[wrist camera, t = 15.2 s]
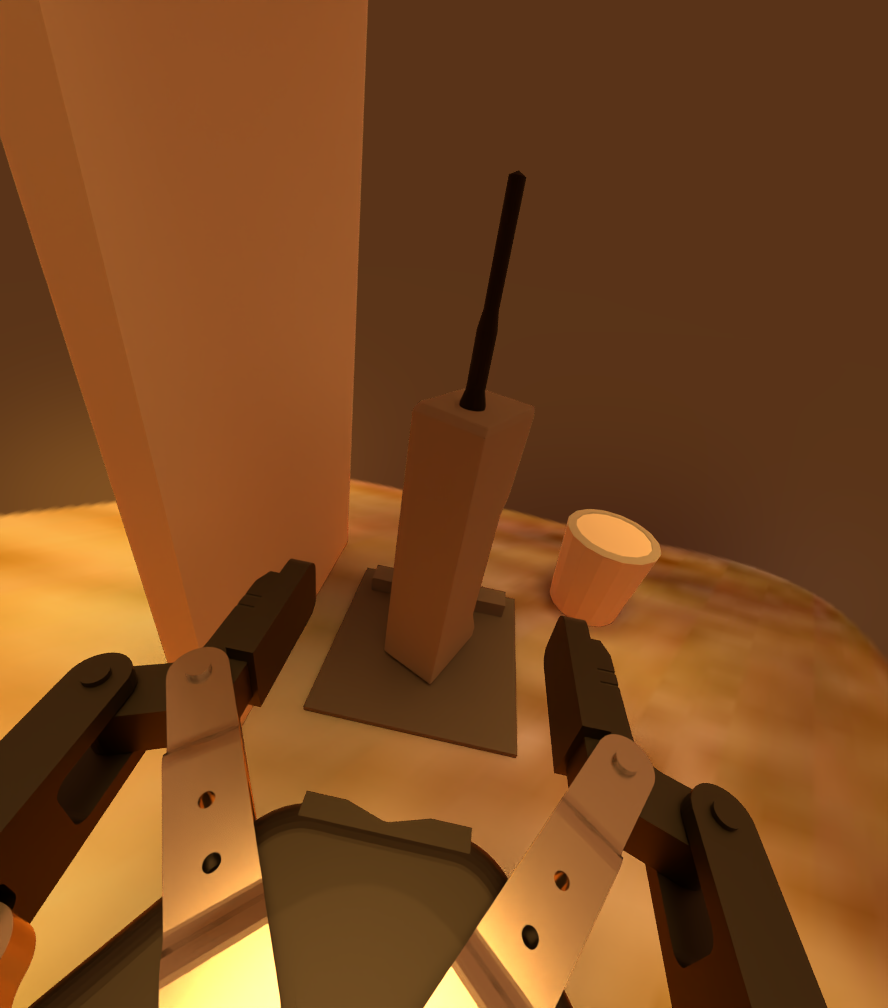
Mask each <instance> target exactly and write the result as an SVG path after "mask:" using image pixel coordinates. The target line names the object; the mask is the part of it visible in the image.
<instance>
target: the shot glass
mask: <svg viewBox="0 0 888 1008" xmlns="http://www.w3.org/2000/svg"><path fill="white" fill-rule="evenodd" d="M660 555H661V550H660V545H659V543H658V542H657V541H656V539H655V538H654V537H653V536H652V535H651V533H649V532H648V531H647V530H645V529H644V528H643V527H641V526H640V525H639V524H637V523H635V522H633V521H631V520H629V519H627V518H625V517H623V516H620V515H617V514H614V513H610V512H607V511H603V510H593V509H586V510H580V511H576V512H574V513H573V514H572V515H570V516H569V519H568V523H567V526H566V530H565V534H564V538H563V541H562V545H561V549H560V553H559V556H558V560H557V564H556V568H555V571H554V575H553V579H552V583H551V587H550V592H549V593H550V596H551V599H552V601H553V603H554V604H555V605H556V607H557V608H558V609H559V610H560V611H561V612H562V613H563V614H565V615H566V616H568V617H572V618H576V619H581V620H585V621H586V623H587V625H588V626H597V627H602V626H605V625H608V624H611V623H612V622H613V621H614V619H615V618H616V617H617V615H618V614H619V613H620V611H621V610H622V608H623V607H624V606H625V604H626V603H627V601H628V600H629V599H630V597H631V596H632V594H633V593H634V592H635V590H636V589H637V588H638V586H639V585H640V583H641V582H642V581H643V579H644V578H645V576H646V575H647V574H648V572H649V571H650V569H651V568H652V567H653V565H654V564H655V562H656V561H657V560H658V558H659V557H660Z"/></svg>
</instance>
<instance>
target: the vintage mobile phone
mask: <svg viewBox="0 0 888 1008" xmlns="http://www.w3.org/2000/svg"><path fill="white" fill-rule="evenodd" d="M525 181H526V177H525V176H524V175H523V174H522V173H521V172H520V171H516V172H514V173H511V174H509V177H508V182H507V188H506V193H505V199H504V204H503V209H502V214H501V220H500V226H499V231H498V236H497V241H496V246H495V252H494V257H493V262H492V268H491V273H490V278H489V283H488V289H487V294H486V299H485V305H484V310H483V312H482V315H481V318H480V321H479V325H478V327H477V332H476V337H475V343H474V348H473V354H472V360H471V364H470V370H469V375H468V381H467V386H466V388H465V389H462V390H458V391H454V392H451V393H448V394H444V395H440V396H437V397H433V398H430V399H426V400H423V401H419V402H418V403H417V405H416V406H415V407H414V408H413V410H412V418H411V426H410V435H409V443H408V452H407V461H406V470H405V477H404V487H403V494H402V503H401V511H400V520H399V528H398V537H397V545H396V554H395V562H394V571H393V579H392V588H391V596H390V605H389V613H388V622H387V630H386V639H385V647H384V650H385V651H386V652H387V653H388V654H390V655H391V656H392V657H394V658H395V659H396V660H398V661H399V662H400V663H402V664H403V665H404V666H406V667H407V668H409V669H410V670H411V671H413V672H414V673H415V674H417V675H418V676H419V677H421V678H422V679H423V680H425V681H426V682H427V683H429V684H431V683H432V682H433V681H434V680H435V678H436V677H437V676H438V675H439V674H440V673H441V671H442V670H443V669H444V668H445V667H446V666H447V664H448V663H449V662H450V661H451V660H452V659H453V657H454V656H455V655H456V654H457V653H458V651H459V650H460V649H461V648H462V647H463V646H464V644H465V643H466V642H467V641H468V640H469V639H470V637H471V636H472V634H473V630H474V627H475V626H474V619H473V612H474V609H475V605H476V601H477V598H478V594H479V590H480V587H481V583H482V579H483V576H484V572H485V568H486V565H487V561H488V557H489V554H490V550H491V547H492V543H493V539H494V536H495V532H496V528H497V525H498V521H499V517H500V515H501V512H502V510H503V508H504V505H505V503H506V501H507V499H508V496H509V494H510V491H511V488H512V484H513V481H514V478H515V475H516V472H517V469H518V465H519V462H520V459H521V456H522V452H523V450H524V446H525V443H526V440H527V437H528V434H529V430H530V427H531V424H532V421H533V418H534V414H535V407H534V406H531V405H528V404H525V403H522V402H520V401H517V400H514V399H511V398H508V397H505V396H502V395H499V394H496V393H493V392H490V391H487V390H485V388H486V384H487V379H488V374H489V369H490V365H491V360H492V355H493V350H494V345H495V341H496V336H497V330H498V314H499V307H500V302H501V298H502V293H503V287H504V282H505V278H506V273H507V268H508V264H509V259H510V254H511V249H512V244H513V239H514V234H515V229H516V225H517V219H518V215H519V210H520V205H521V200H522V196H523V191H524V186H525Z"/></svg>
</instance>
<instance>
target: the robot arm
mask: <svg viewBox="0 0 888 1008" xmlns="http://www.w3.org/2000/svg"><path fill="white" fill-rule="evenodd" d="M315 601H316V567H315V564H314V563H311V562H306V561H301V560H297V559H290V560H289V561H288V562H287V563H286V564H285V566H284V567H283V569H282V570H281V571H280V573H278V572H273V571H270V572H268V573H266V574H265V575H263V576H262V577H260V578H259V579H257V580H256V581H255V582H254V583H253V584H252V586H251V587H250V588H249V590H248V591H247V592H246V595H244V596H243V597H242V598H241V600H240V601H239V602H238V605H237V606H235V607H234V609H233V610H232V611H231V612H230V614H229V615H228V616H227V618H226V619H225V620H224V621H223V623H222V624H221V625H220V626H219V628H218V629H217V630H216V632H215V633H214V634H213V635H212V637H211V638H210V639H209V640H208V642H207V643H206V644H205V645H204V646H203V647H202V648H197V649H194V650H191V651H189V652H187V653H185V654H184V655H182V656H181V657H179V658H178V659H177V660H176V661H175V662H173V663H166V664H155V665H142V666H133V664H132V662H131V660H130V658H128V657H127V656H126V655H124V654H120V653H105V654H100V655H96V656H93V657H91V658H88V659H86V660H84V661H82V662H81V663H79V664H77V665H76V666H75V667H73V668H72V669H71V670H70V671H69V672H68V673H67V674H66V675H65V676H64V677H63V678H62V679H61V680H60V681H59V682H58V683H57V684H56V685H55V686H54V687H53V688H52V689H51V690H50V691H49V692H48V693H47V694H46V695H45V696H44V697H43V698H42V699H41V700H40V701H39V702H38V703H37V704H36V705H35V706H34V707H33V708H32V709H31V710H30V711H29V712H28V713H27V714H26V715H25V716H24V717H23V718H22V719H21V720H20V721H19V722H18V723H17V724H16V725H15V726H14V727H13V728H12V729H11V730H10V731H9V733H8V734H7V735H6V736H5V737H4V738H3V739H2V740H1V741H0V1008H12V1004H13V1001H14V997H15V995H16V992H17V990H18V987H19V985H20V983H21V981H22V979H23V977H24V976H25V974H26V972H27V970H28V968H29V966H30V963H31V961H32V958H33V955H34V951H35V945H36V936H35V932H34V929H33V927H32V926H31V925H30V923H31V921H32V920H33V918H34V917H35V915H36V914H37V912H38V911H39V909H40V908H41V906H42V905H43V903H44V902H45V900H46V899H47V897H48V896H49V894H50V893H51V891H52V890H53V888H54V887H55V885H56V884H57V883H58V881H59V880H60V878H61V877H62V875H63V874H64V872H65V871H66V869H67V868H68V866H69V865H70V863H71V862H72V860H73V859H74V857H75V856H76V854H77V853H78V851H79V850H80V848H81V847H82V845H83V844H84V842H85V841H86V839H87V838H88V836H89V835H90V833H91V832H92V830H93V829H94V827H95V826H96V824H97V823H98V821H99V820H100V818H101V817H102V815H103V814H104V812H105V811H106V809H107V808H108V806H109V805H110V803H111V802H112V801H113V799H114V798H115V796H116V795H117V793H118V792H119V790H120V789H121V787H122V786H123V784H124V783H125V781H126V780H127V778H128V777H129V775H130V774H131V772H132V771H133V769H134V768H135V766H136V765H137V763H138V762H139V760H140V759H141V757H142V756H143V754H144V753H145V751H146V750H152V749H160V748H167V753H166V754H164V755H163V759H162V879H163V896H162V897H161V898H160V899H159V900H158V901H156V902H155V903H154V904H153V905H151V906H150V907H149V908H148V909H147V910H145V911H144V912H143V913H142V914H141V915H139V916H138V917H137V918H136V919H135V920H133V921H132V922H131V923H130V924H128V925H127V926H126V927H125V928H124V929H122V930H121V931H120V932H119V933H118V934H116V935H115V936H114V937H113V938H111V939H110V940H109V941H108V942H107V943H105V944H104V945H103V946H102V947H101V948H99V949H98V950H97V951H96V952H94V953H93V954H92V955H91V956H90V957H88V958H87V959H86V960H85V961H84V962H82V963H81V964H80V965H79V966H77V967H76V968H75V969H74V970H73V971H71V972H70V973H69V974H68V975H67V976H65V977H64V978H63V979H62V980H61V981H59V982H58V983H57V984H56V985H54V986H53V987H52V988H51V989H50V990H48V991H47V992H46V993H45V994H44V995H42V996H41V997H40V998H39V999H38V1000H36V1001H35V1002H34V1003H33V1004H32V1005H31V1006H29V1007H28V1008H573V1007H572V1005H571V1003H570V1001H569V999H568V997H567V995H566V993H565V991H564V987H565V985H566V983H567V981H568V979H569V977H570V975H571V972H572V970H573V968H574V966H575V964H576V962H577V960H578V957H579V955H580V953H581V951H582V949H583V947H584V945H585V942H586V940H587V938H588V936H589V934H590V932H591V930H592V927H593V925H594V923H595V921H596V919H597V917H598V914H599V912H600V910H601V908H602V906H603V904H604V902H605V899H606V897H607V895H608V893H609V891H610V889H611V887H612V884H613V882H614V880H615V878H616V876H617V874H618V871H619V869H620V867H621V864H622V860H623V857H622V856H621V854H622V851H623V850H624V851H626V852H627V853H629V854H630V855H632V856H634V857H635V858H637V859H638V860H640V861H642V862H643V863H645V865H646V871H647V876H648V881H649V887H650V892H651V897H652V903H653V908H654V913H655V919H656V924H657V929H658V935H659V940H660V945H661V951H662V956H663V961H664V967H665V972H666V977H667V983H668V988H669V993H670V999H671V1004H672V1008H827V1005H826V1003H825V1000H824V998H823V995H822V993H821V990H820V988H819V985H818V983H817V980H816V978H815V975H814V973H813V970H812V968H811V965H810V963H809V960H808V958H807V955H806V953H805V950H804V947H803V945H802V942H801V940H800V937H799V935H798V932H797V930H796V927H795V925H794V922H793V920H792V917H791V915H790V912H789V910H788V907H787V905H786V902H785V900H784V897H783V895H782V892H781V890H780V887H779V885H778V882H777V880H776V877H775V875H774V872H773V870H772V867H771V864H770V862H769V859H768V857H767V854H766V852H765V849H764V847H763V844H762V842H761V839H760V837H759V834H758V832H757V829H756V827H755V824H754V822H753V820H752V818H751V817H750V815H749V813H748V812H747V811H746V809H745V808H744V807H743V805H742V804H741V803H740V802H739V801H738V800H737V799H736V798H735V797H734V796H733V795H731V794H730V793H729V792H727V791H726V790H724V789H723V788H721V787H719V786H716V785H714V784H709V783H702V784H699V785H697V786H696V787H695V788H694V789H693V790H692V789H691V788H689V787H687V786H685V785H683V784H681V783H680V782H678V781H676V780H674V779H672V778H670V777H669V776H667V775H665V774H663V773H662V772H660V771H658V770H657V769H656V768H654V767H653V766H652V763H651V761H650V759H649V758H648V756H647V755H646V753H645V752H644V751H643V750H642V749H641V748H640V747H639V746H638V745H637V744H636V743H635V742H634V740H633V737H632V734H631V730H630V726H629V723H628V719H627V715H626V711H625V708H624V704H623V700H622V697H621V693H620V689H619V688H618V682H617V678H616V675H615V674H614V673H615V671H614V667H613V663H612V659H611V656H610V654H609V653H608V651H607V650H606V649H605V647H604V646H603V644H602V643H601V641H599V640H594V639H591V638H590V634H589V630H588V625H587V623H586V621H585V620H581V619H576V618H572V617H567V616H560V617H559V619H558V621H557V623H556V626H555V628H554V630H553V632H552V635H551V637H550V639H549V642H548V644H547V647H546V650H545V655H544V673H545V683H546V693H547V704H548V714H549V724H550V735H551V745H552V755H553V766H554V773H556V774H561V775H565V776H567V780H568V790H567V792H566V793H565V795H564V796H563V798H562V799H561V801H560V802H559V804H558V805H557V807H556V808H555V810H554V811H553V813H552V814H551V816H550V817H549V819H548V820H547V822H546V823H545V825H544V826H543V828H542V829H541V831H540V832H539V834H538V835H537V837H536V838H535V840H534V842H533V843H532V845H531V846H530V848H529V849H528V851H527V852H526V854H525V855H524V857H523V858H522V860H521V861H520V863H519V864H518V866H517V867H516V869H515V870H514V872H513V873H512V875H511V876H510V878H509V879H508V878H507V876H506V875H505V873H504V872H503V870H502V869H501V868H500V867H499V865H498V864H497V863H496V862H495V860H494V859H493V858H492V857H491V856H490V855H489V854H488V853H487V852H485V851H484V850H483V849H481V848H480V847H479V846H478V845H476V844H474V843H473V842H471V832H472V828H470V827H466V826H461V825H457V824H452V823H448V822H443V821H439V820H435V819H422V820H411V821H399V822H384V821H382V820H380V819H379V818H377V817H375V816H374V815H372V814H370V813H369V812H367V811H365V810H364V809H362V808H360V807H358V806H357V805H355V804H353V803H352V802H350V801H348V800H346V799H341V798H337V797H333V796H328V795H324V794H319V793H315V792H310V791H307V792H306V795H305V797H304V800H303V802H302V804H294V805H289V806H285V807H282V808H279V809H277V810H274V811H272V812H270V813H268V814H266V815H264V816H262V817H261V818H259V819H256V812H255V806H254V801H253V795H252V789H251V783H250V777H249V771H248V764H247V758H246V752H245V746H244V739H243V733H242V727H241V720H240V718H241V716H242V714H243V712H244V711H245V709H246V707H247V706H248V704H249V705H254V706H258V707H261V706H262V704H263V702H264V700H265V698H266V696H267V695H268V693H269V691H270V689H271V687H272V686H273V684H274V682H275V680H276V678H277V676H278V675H279V673H280V671H281V669H282V667H283V666H284V664H285V662H286V660H287V658H288V656H289V655H290V653H291V651H292V649H293V647H294V646H295V644H296V642H297V640H298V638H299V636H300V635H301V633H302V631H303V629H304V627H305V626H306V624H307V622H308V620H309V618H310V616H311V614H312V612H313V609H314V606H315Z"/></svg>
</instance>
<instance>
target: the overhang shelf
mask: <svg viewBox="0 0 888 1008" xmlns="http://www.w3.org/2000/svg"><path fill="white" fill-rule="evenodd" d="M367 10H368V0H0V137H1V141H2V144H3V147H4V150H5V153H6V156H7V159H8V163H9V166H10V169H11V172H12V175H13V178H14V181H15V184H16V188H17V191H18V194H19V197H20V200H21V203H22V206H23V210H24V213H25V216H26V219H27V222H28V225H29V228H30V232H31V235H32V238H33V241H34V244H35V247H36V251H37V254H38V257H39V260H40V263H41V266H42V270H43V273H44V276H45V279H46V282H47V285H48V288H49V291H50V295H51V298H52V301H53V304H54V307H55V310H56V313H57V316H58V320H59V323H60V326H61V329H62V332H63V335H64V339H65V342H66V345H67V348H68V351H69V354H70V357H71V361H72V364H73V367H74V370H75V373H76V377H77V380H78V383H79V386H80V389H81V392H82V395H83V398H84V402H85V405H86V408H87V411H88V414H89V417H90V421H91V424H92V427H93V430H94V433H95V436H96V439H97V443H98V446H99V449H100V452H101V455H102V458H103V461H104V465H105V468H106V471H107V474H108V477H109V480H110V483H111V486H112V490H113V493H114V496H115V499H116V502H117V505H118V509H119V512H120V515H121V518H122V521H123V524H124V528H125V531H126V534H127V537H128V540H129V543H130V546H131V550H132V553H133V556H134V559H135V562H136V565H137V568H138V572H139V575H140V578H141V581H142V584H143V587H144V590H145V594H146V597H147V600H148V603H149V606H150V609H151V612H152V616H153V619H154V622H155V625H156V628H157V631H158V634H159V638H160V641H161V644H162V647H163V650H164V653H165V656H166V660H167V663H173V662H175V661H176V660H177V659H178V658H179V657H181V656H182V655H184V654H185V653H187V652H189V651H191V650H194V649H197V648H202V647H203V646H204V645H205V644H206V643H207V642H208V640H209V639H210V638H211V637H212V635H213V634H214V633H215V632H216V630H217V629H218V628H219V626H220V625H221V624H222V623H223V621H224V620H225V619H226V618H227V616H228V615H229V614H230V612H231V611H232V610H233V609H234V607H235V606H237V605H238V602H239V601H240V600H241V598H242V597H243V596H244V595H246V592H247V591H248V590H249V588H250V587H251V586H252V584H253V583H254V582H255V581H256V580H257V579H259V578H260V577H262V576H263V575H265V574H266V573H268V572H270V571H273V572H278V573H280V571H281V570H282V569H283V567H284V566H285V564H286V563H287V562H288V561H289V560H290V559H297V560H301V561H306V562H311V563H314V564H315V567H316V596H317V594H318V592H319V591H320V589H321V587H322V585H323V584H324V582H325V580H326V578H327V577H328V575H329V573H330V571H331V570H332V568H333V566H334V565H335V563H336V561H337V559H338V558H339V556H340V554H341V552H342V551H343V549H344V547H345V546H346V544H347V542H348V516H349V489H350V462H351V436H352V410H353V382H354V354H355V327H356V302H357V276H358V250H359V223H360V221H359V220H360V196H361V170H362V141H363V116H364V115H363V114H364V90H365V63H366V37H367ZM393 571H394V568H390V567H386V566H381V565H378V566H377V569H371V568H367V570H366V572H365V574H364V577H363V579H362V581H361V583H360V585H359V587H358V590H357V592H356V594H355V596H354V598H353V600H352V603H351V605H350V607H349V609H348V611H347V613H346V616H345V618H344V620H343V622H342V624H341V626H340V628H339V631H338V633H337V635H336V637H335V639H334V641H333V644H332V646H331V648H330V650H329V652H328V654H327V657H326V659H325V661H324V663H323V665H322V667H321V670H320V672H319V674H318V676H317V678H316V680H315V683H314V685H313V687H312V689H311V691H310V693H309V695H308V698H307V700H306V702H305V704H304V706H303V707H304V710H308V711H312V712H317V713H321V714H325V715H330V716H334V717H339V718H343V719H347V720H352V721H356V722H361V723H365V724H369V725H374V726H378V727H383V728H387V729H391V730H396V731H400V732H405V733H409V734H413V735H418V736H422V737H427V738H431V739H435V740H440V741H444V742H449V743H453V744H457V745H462V746H466V747H471V748H475V749H479V750H484V751H488V752H493V753H497V754H501V755H506V756H510V757H514V758H516V756H517V718H516V661H515V604H514V599H512V598H507V597H505V592H503V591H499V590H494V589H489V588H484V587H480V590H479V594H478V598H477V601H476V605H475V609H474V612H473V619H474V626H475V627H474V630H473V634H472V636H471V637H470V639H469V640H468V641H467V642H466V643H465V644H464V646H463V647H462V648H461V649H460V650H459V651H458V653H457V654H456V655H455V656H454V657H453V659H452V660H451V661H450V662H449V663H448V664H447V666H446V667H445V668H444V669H443V670H442V671H441V673H440V674H439V675H438V676H437V677H436V678H435V680H434V681H433V682H432V683H431V684H429V683H427V682H426V681H425V680H423V679H422V678H421V677H419V676H418V675H417V674H415V673H414V672H413V671H411V670H410V669H409V668H407V667H406V666H404V665H403V664H402V663H400V662H399V661H398V660H396V659H395V658H394V657H392V656H391V655H390V654H388V653H387V652H386V651H385V650H384V647H385V639H386V630H387V622H388V613H389V605H390V596H391V588H392V579H393ZM252 707H253V705H249V704H248V706H247V707H246V709H245V711H244V712H243V714H242V716H241V718H240V720H241V726H242V724H243V722H244V721H245V719H246V717H247V715H248V714H249V712H250V710H251V708H252Z"/></svg>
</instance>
